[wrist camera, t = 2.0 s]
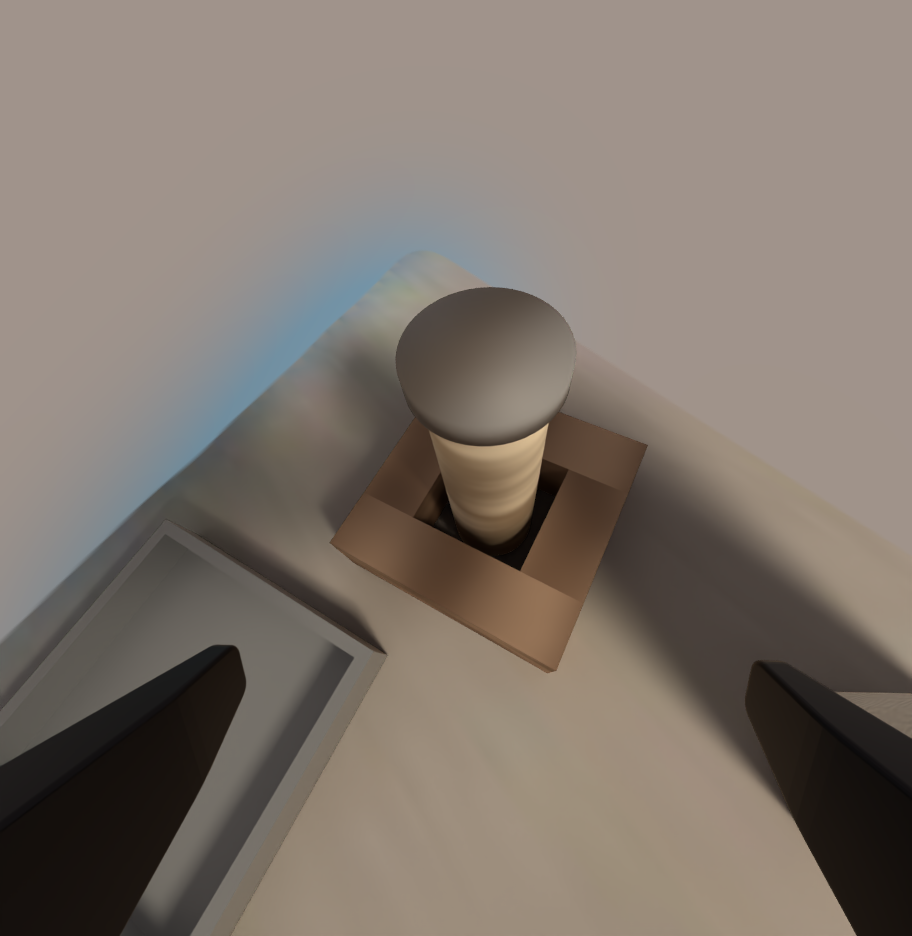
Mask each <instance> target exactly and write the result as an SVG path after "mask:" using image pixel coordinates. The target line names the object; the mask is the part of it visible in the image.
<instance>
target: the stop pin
mask: <svg viewBox="0 0 912 936" xmlns="http://www.w3.org/2000/svg"><path fill="white" fill-rule="evenodd" d="M575 362H576V343H575V339H574V336H573V333H572V331H571V329H570V327H569V325H568V323H567V322H566V321H565V319H564V318H563V317H562V316H561V314H560V313H559V312H558V311H557V310H555V309H554V308H553V307H552V306H550V305H549V304H548V303H546V302H544V301H543V300H541V299H539V298H537V297H535V296H533V295H530V294H528V293H525V292H521V291H517V290H513V289H507V288H495V287H487V288H475V289H469V290H464V291H460V292H457V293H454V294H451V295H448V296H446V297H443V298H441V299H439V300H437V301H436V302H434V303H432V304H430V305H429V306H428V307H426V308H425V309H423V310H422V311H421V312H420V313H419V314H418V315H416V316H415V317H414V319H413V320H412V321H411V322H410V323H409V324H408V326H407V327H406V329H405V330H404V332H403V334H402V336H401V338H400V340H399V343H398V347H397V352H396V369H397V374H398V378H399V381H400V384H401V387H402V390H403V393H404V396H405V398H406V401H407V404H408V406H409V408H410V410H411V411H412V413H413V415H414V416H415V417H416V418H417V420H418V421H419V422H420V423H421V424H422V425H423V426H425V427H426V428H427V429H428V430H429V432H430V435H431V439H432V442H433V446H434V449H435V453H436V456H437V460H438V463H439V467H440V470H441V474H442V477H443V481H444V485H445V488H446V492H447V495H448V499H449V502H450V506H451V509H452V513H453V516H454V520H455V523H456V527H457V530H458V533H459V535H460V537H461V539H462V540H463V542H464V543H465V544H467V545H469V546H471V547H473V548H475V549H477V550H479V551H481V552H483V553H485V554H487V555H489V556H498V555H503V554H507V553H509V552H511V551H513V550H515V549H516V548H517V547H519V546H520V545H521V544H522V543H523V541H524V540H525V538H526V537H527V535H528V532H529V529H530V524H531V519H532V513H533V507H534V502H535V496H536V491H537V485H538V479H539V474H540V468H541V463H542V457H543V451H544V446H545V440H546V435H547V429H548V423H549V422H550V421H551V420H552V419H553V418H554V417H555V416H556V415H557V413H558V412H559V411H560V409H561V408H562V406H563V404H564V403H565V400H566V398H567V396H568V392H569V388H570V384H571V380H572V375H573V371H574V367H575Z"/></svg>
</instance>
